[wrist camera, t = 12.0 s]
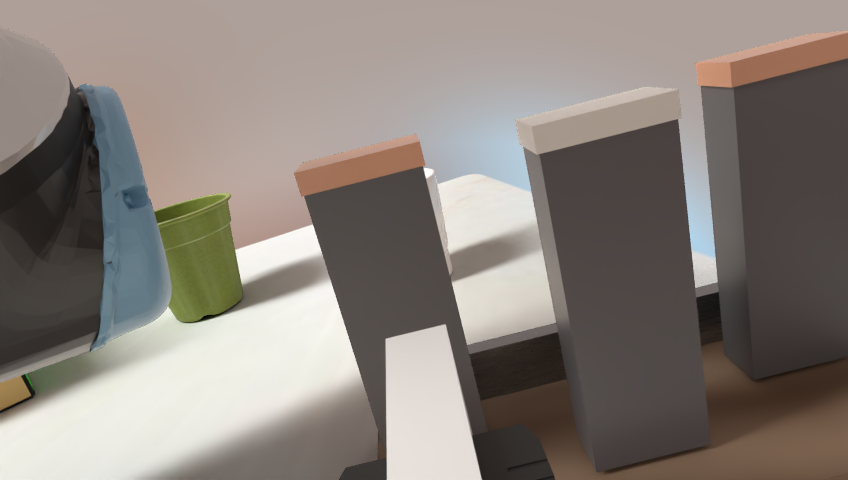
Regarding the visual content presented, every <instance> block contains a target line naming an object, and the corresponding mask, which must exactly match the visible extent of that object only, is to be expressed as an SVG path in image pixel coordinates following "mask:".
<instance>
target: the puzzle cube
mask: <svg viewBox="0 0 848 480" xmlns="http://www.w3.org/2000/svg"><path fill="white" fill-rule="evenodd" d="M34 394H35V391H34V389H33V386H32V384H31V381H30V379H29V376H28V374H24V375H21V376H18V377H16V378H13V379H10V380H7V381H5V382H2V383H0V413H1V412H3V411H5V410H7V409H9V408H11V407H13V406H15V405H18V404H20V403H22V402H24V401H26V400H28V399H30V398H32V397H33V396H34Z"/></svg>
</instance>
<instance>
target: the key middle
mask: <svg viewBox="0 0 848 480" xmlns="http://www.w3.org/2000/svg"><path fill="white" fill-rule="evenodd" d="M680 118H681V108H680V98H679V90H678V89H668V88H656V87H642V88H638V89H634V90H630V91H626V92H622V93H618V94H614V95H610V96H606V97H603V98H599V99H595V100H591V101H587V102H583V103H579V104H575V105H571V106H567V107H563V108H559V109H555V110H551V111H548V112H544V113H540V114H536V115H532V116H528V117H524V118H520V119H516V120H515V121H516V126H517V131H518V136H519V142H520V145H522V146H523V148H524V154H525V159H526V164H527V170H528V175H529V180H530V185H531V191H532V196H533V201H534V207H535V212H536V217H537V223H538V228H539V233H540V239H541V244H542V249H543V255H544V260H545V265H546V271H547V276H548V281H549V287H550V292H551V297H552V303H553V308H554V313H555V319H556V324H557V329H558V335H559V340H560V345H561V351H562V356H563V361H564V367H565V372H566V377H567V383H568V388H569V393H570V399H571V404H572V409H573V415H574V420H575V425H576V431H577V436H578V438H579V440H580V442H581V444H582V446H583V447H584V449H585V451H586V453H587V455H588V457H589V459H590V461H591V463H592V465H593V467H594V469H595V471H596V472H601V471H605V470H609V469H613V468H617V467H621V466H625V465H629V464H633V463H637V462H641V461H645V460H649V459H653V458H657V457H661V456H665V455H669V454H673V453H677V452H682V451H686V450H690V449H694V448H698V447H702V446H706V445H710V444H711V440H710V430H709V421H708V411H707V401H706V391H705V381H704V371H703V361H702V351H701V341H700V331H699V322H698V312H697V302H696V292H695V282H694V272H693V262H692V252H691V242H690V233H689V223H688V213H687V203H686V194H685V185H684V184H685V183H684V174H683V163H682V153H681V143H680V134H679V124H678V119H680Z"/></svg>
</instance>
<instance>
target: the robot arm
mask: <svg viewBox="0 0 848 480" xmlns="http://www.w3.org/2000/svg"><path fill="white" fill-rule="evenodd" d="M147 192H148V189H147V186H146V183H145V179H144V176H143V172H142V166H141V163H140V159H139V156H138V153H137V149H136V146H135V142H134V139H133V136H132V133H131V130H130V127H129V123H128V120H127V117H126V114H125V111H124V108H123V105H122V103H121V100H120V98H119V96H118V94H117V93H116V92H115V91H114V90H113V89H111V88H109V87H106V86H92V85H86V84H84V85H80V86H79V87H78V88H76V89H74V87H73V85H72V83H71V81H70V78H69V76H68V74H67V72H66V71H65V69H64V67H63V65H62V63H61V62H60V61H59V59H58V58H57V57H56V56H55V54H54V53H53V52H52V51H51V50H50V49H49V48H48V47H46V46H44V45H43V44H41V43H40V42H38V41H36V40H34V39H32V38H29V37H27V36H25V35H22V34H19V33H16V32H14V31H11V30H8V29H5V28H2V27H0V383H2V382H5V381H7V380H10V379H13V378H16V377H18V376H21V375H24V374H27V373H30V372H32V371H35V370H38V369H41V368H43V367H46V366H49V365H52V364H55V363H57V362H60V361H63V360H66V359H69V358H71V357H74V356H77V355H80V354H82V353H85V352H88V351H91V352H92V351H95V350H98V349H100V348H102V347H103V346H104V345H105V344H106V342H108V341H110V340H112V339H115V338H117V337H119V336H122V335H124V334H126V333H129V332H131V331H133V330H135V329H138V328H140V327H142V326H145V325H147V324H149V323H151V322H153V321H154V320H156V319H157V318H158V317H160V316H161V315H162V314H163V313H164V311H165V310H166V308H167V307H168V305H169V302H170V300H171V295H172V284H171V279H170V273H169V268H168V263H167V259H166V255H165V251H164V247H163V243H162V239H161V235H160V231H159V228H158V224H157V220H156V217H155V213H154V210H153V207H152V203H151V200H150V199H149V197H148V193H147ZM386 435H387V458H384V459H380V460H376V461H372V462H368V463H364V464H359V465H355V466H351V467H347V468H345V470H344V472H343V473H342V475H341V477H340V479H339V480H555V477H554V474H553V471H552V469H551V466H550V464H549V463H548V459H547V457H546V454H545V452H544V449H543V447H542V444H541V442H540V439H539V438H538V437H537V436H536V435H535V434H533V433H532V432H531V431H530V430H529V429H528V428H526V427H525V426H524V425H523V424H517V425H513V426H509V427H505V428H501V429H497V430H493V431H488V432H484V433H480V434H476V435H473V434H472V430H471V426H470V421H469V417H468V413H467V409H466V405H465V401H464V397H463V393H462V389H461V385H460V381H459V377H458V373H457V369H456V364H455V360H454V356H453V352H452V348H451V344H450V340H449V336H448V332H447V328H446V324H444V325H440V326H436V327H432V328H428V329H424V330H420V331H415V332H411V333H407V334H403V335H399V336H395V337H391V338H387V339H386Z"/></svg>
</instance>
